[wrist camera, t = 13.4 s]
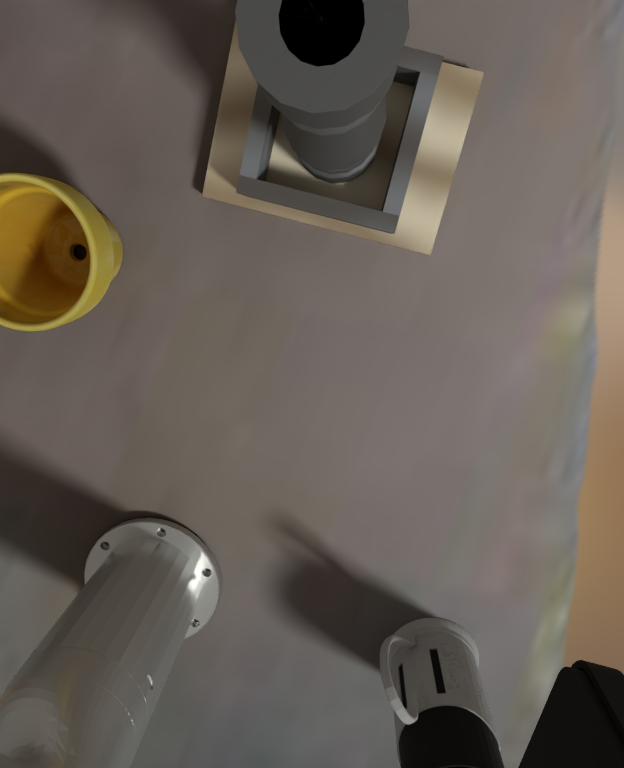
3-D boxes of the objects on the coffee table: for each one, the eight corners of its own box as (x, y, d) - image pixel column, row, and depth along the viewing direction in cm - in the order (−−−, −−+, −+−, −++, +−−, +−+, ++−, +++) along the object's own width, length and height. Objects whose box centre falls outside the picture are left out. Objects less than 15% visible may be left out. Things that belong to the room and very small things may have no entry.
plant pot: (125, 332, 50) (71, 355, 40) (10, 286, 49) (-72, 298, 40) (163, 214, 47) (115, 208, 37) (41, 164, 47) (-38, 145, 37)
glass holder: (414, 711, 57) (435, 875, 42) (336, 598, 54) (330, 730, 40) (496, 673, 55) (547, 830, 40) (419, 555, 53) (444, 677, 38)
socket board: (427, 254, 46) (437, 256, 41) (206, 197, 46) (187, 192, 41) (479, 78, 43) (497, 55, 38) (241, 17, 43) (225, -14, 38)
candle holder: (280, 158, 44) (195, 63, 20) (319, 77, 42) (281, -134, 18) (352, 199, 44) (357, 156, 20) (394, 120, 43) (455, -29, 18)
